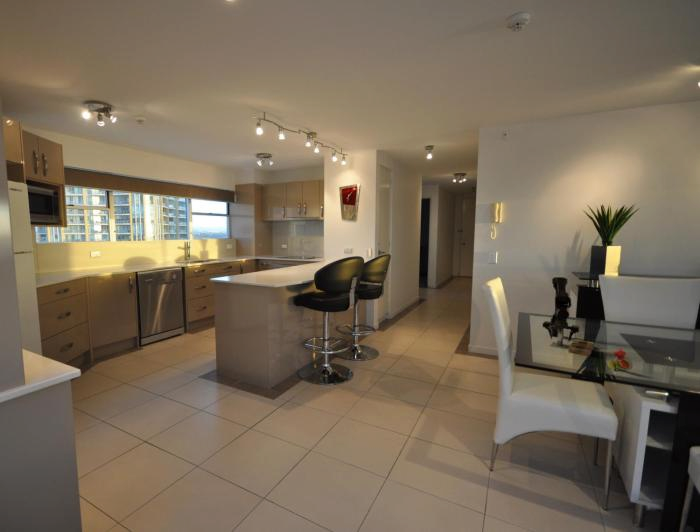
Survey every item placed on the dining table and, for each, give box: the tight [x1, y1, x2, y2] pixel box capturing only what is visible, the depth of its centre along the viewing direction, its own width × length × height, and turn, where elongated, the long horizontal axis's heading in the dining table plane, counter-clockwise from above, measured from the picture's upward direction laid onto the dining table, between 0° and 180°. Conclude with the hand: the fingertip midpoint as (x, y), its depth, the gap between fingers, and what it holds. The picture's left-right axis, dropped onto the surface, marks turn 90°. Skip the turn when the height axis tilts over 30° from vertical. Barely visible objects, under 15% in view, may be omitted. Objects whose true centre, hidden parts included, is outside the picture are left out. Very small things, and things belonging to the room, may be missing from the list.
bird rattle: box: [608, 348, 634, 372], centre depth 168 cm, size 6×11×9 cm
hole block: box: [568, 338, 595, 357], centre depth 198 cm, size 10×20×3 cm, turn 138°
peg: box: [556, 329, 565, 346], centre depth 205 cm, size 3×3×10 cm
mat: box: [549, 341, 571, 350], centre depth 205 cm, size 9×10×1 cm
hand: (560, 340), depth 205 cm, fingers open, 9 cm apart
